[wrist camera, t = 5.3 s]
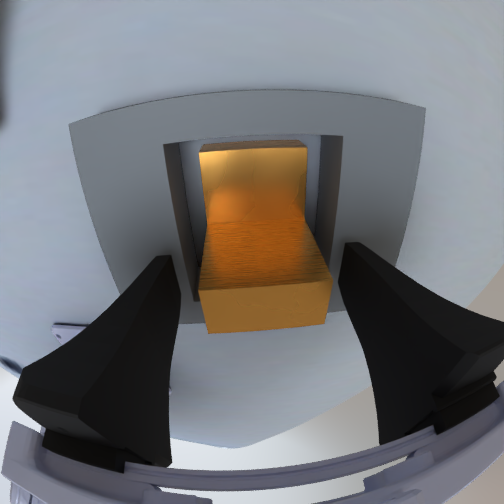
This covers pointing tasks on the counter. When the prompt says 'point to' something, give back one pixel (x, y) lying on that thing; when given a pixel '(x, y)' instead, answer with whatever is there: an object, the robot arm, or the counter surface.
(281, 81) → the counter surface
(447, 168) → the counter surface
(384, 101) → the well block
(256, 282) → the wooden step block
